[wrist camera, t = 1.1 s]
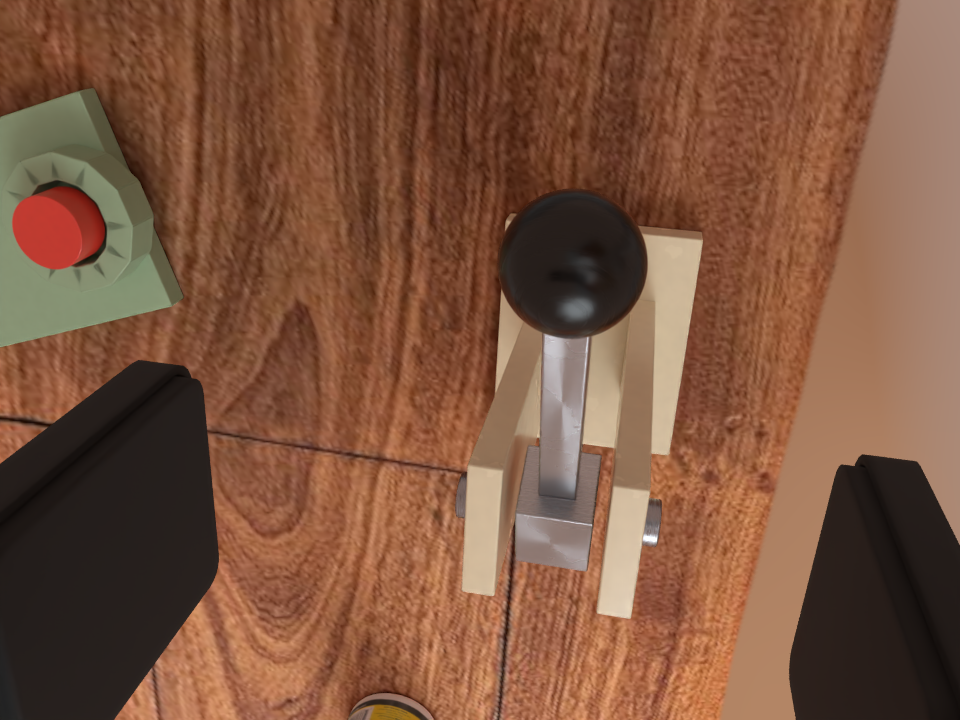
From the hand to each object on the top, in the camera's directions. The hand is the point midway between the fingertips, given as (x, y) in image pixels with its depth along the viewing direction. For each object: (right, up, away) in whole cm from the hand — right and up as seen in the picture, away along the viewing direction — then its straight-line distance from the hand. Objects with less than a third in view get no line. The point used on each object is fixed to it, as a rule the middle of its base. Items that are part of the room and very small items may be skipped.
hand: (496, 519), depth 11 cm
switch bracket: (+5, +3, +29) cm, 29 cm away
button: (-18, +8, +28) cm, 34 cm away
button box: (-23, +8, +32) cm, 41 cm away
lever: (+2, +2, +13) cm, 14 cm away
